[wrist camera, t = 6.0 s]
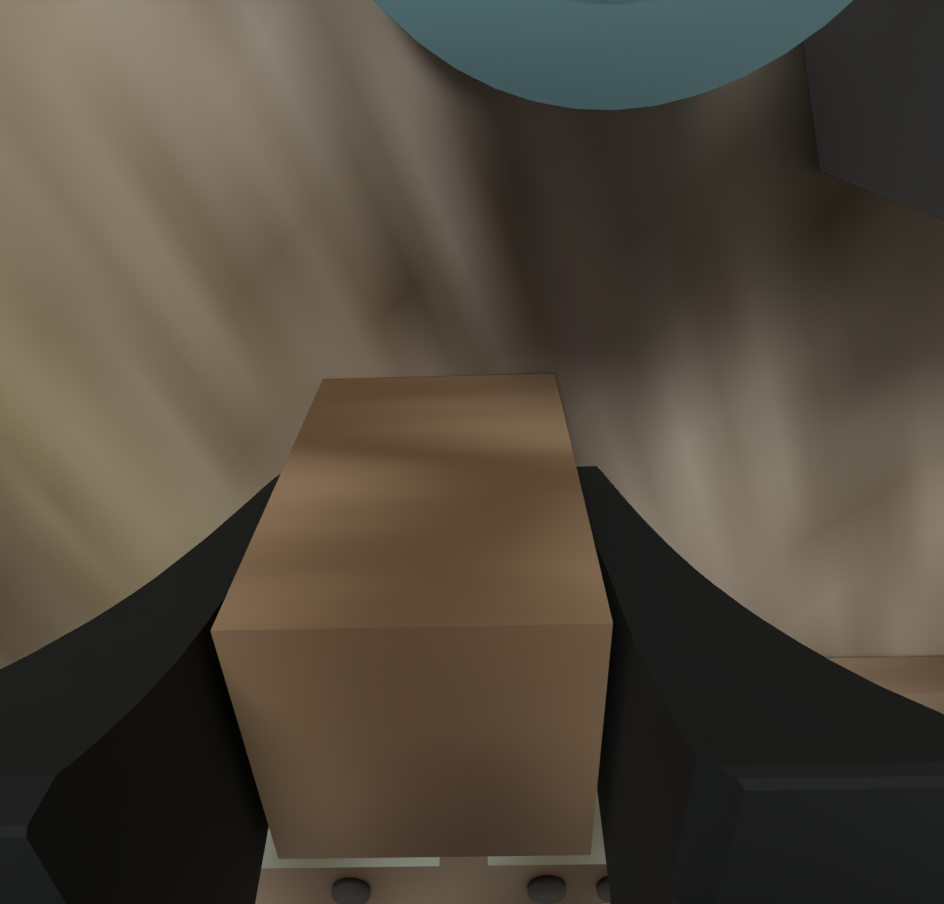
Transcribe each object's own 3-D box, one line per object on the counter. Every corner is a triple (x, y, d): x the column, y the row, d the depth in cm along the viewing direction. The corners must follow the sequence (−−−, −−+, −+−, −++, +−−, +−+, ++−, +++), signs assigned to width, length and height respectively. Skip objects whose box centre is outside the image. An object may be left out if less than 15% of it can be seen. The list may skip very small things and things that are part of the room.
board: (254, 869, 20) (241, 920, 19) (188, 669, 16) (166, 717, 15) (900, 861, 20) (926, 911, 18) (1002, 655, 15) (1044, 703, 14)
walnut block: (350, 560, 14) (278, 858, 9) (322, 379, 12) (210, 631, 7) (549, 556, 14) (591, 855, 9) (554, 372, 12) (613, 623, 7)
